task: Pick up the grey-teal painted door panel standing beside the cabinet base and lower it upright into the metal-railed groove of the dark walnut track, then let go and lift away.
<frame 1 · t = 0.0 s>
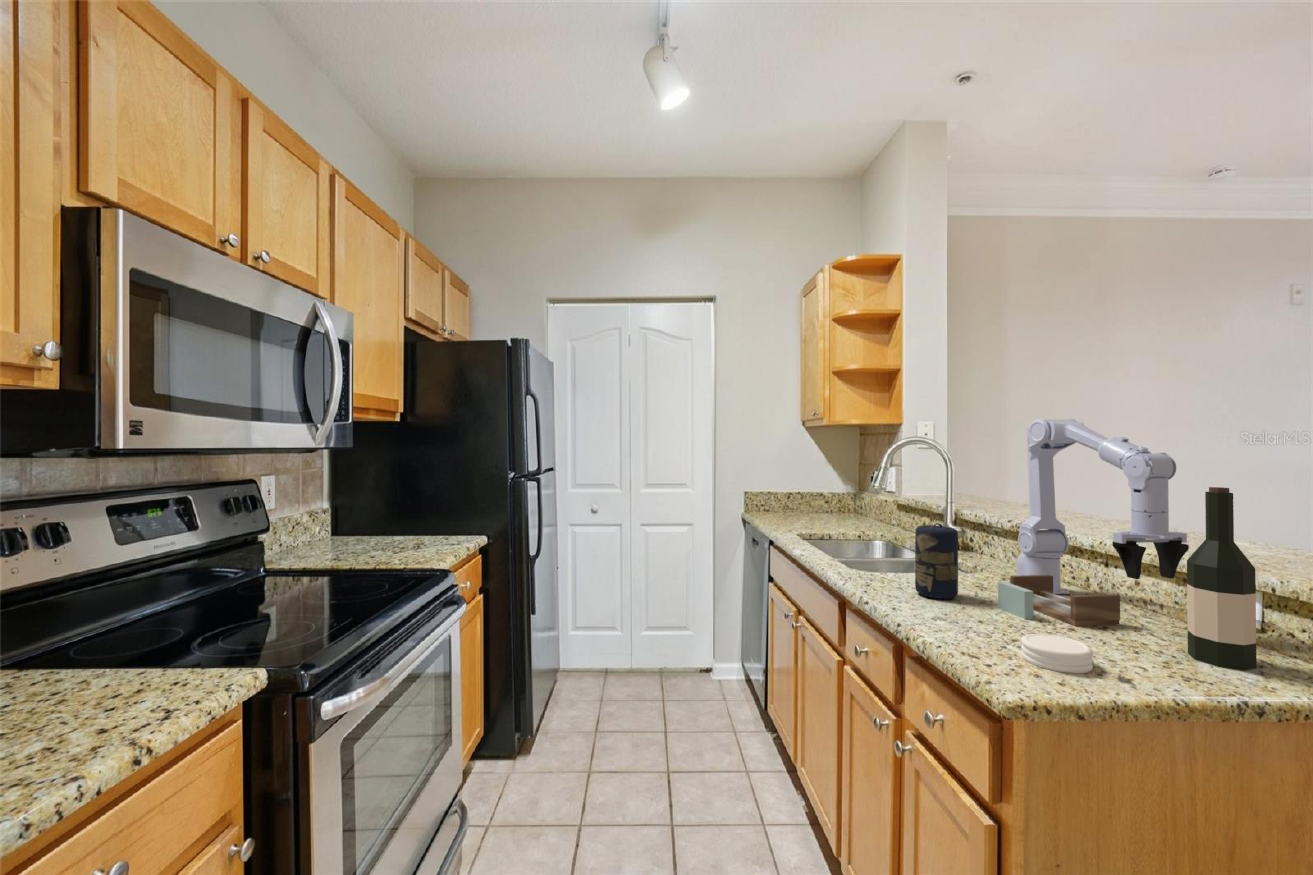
hand: (1150, 577, 113), 10 cm above the worktop, tool pointing down, fingers open, 7 cm apart
door panel: (1015, 613, 122), on the worktop
coaster: (1056, 664, 95), on the worktop
track base: (1061, 612, 123), on the worktop
canister: (936, 596, 136), on the worktop
wine bottle: (1221, 661, 95), on the worktop
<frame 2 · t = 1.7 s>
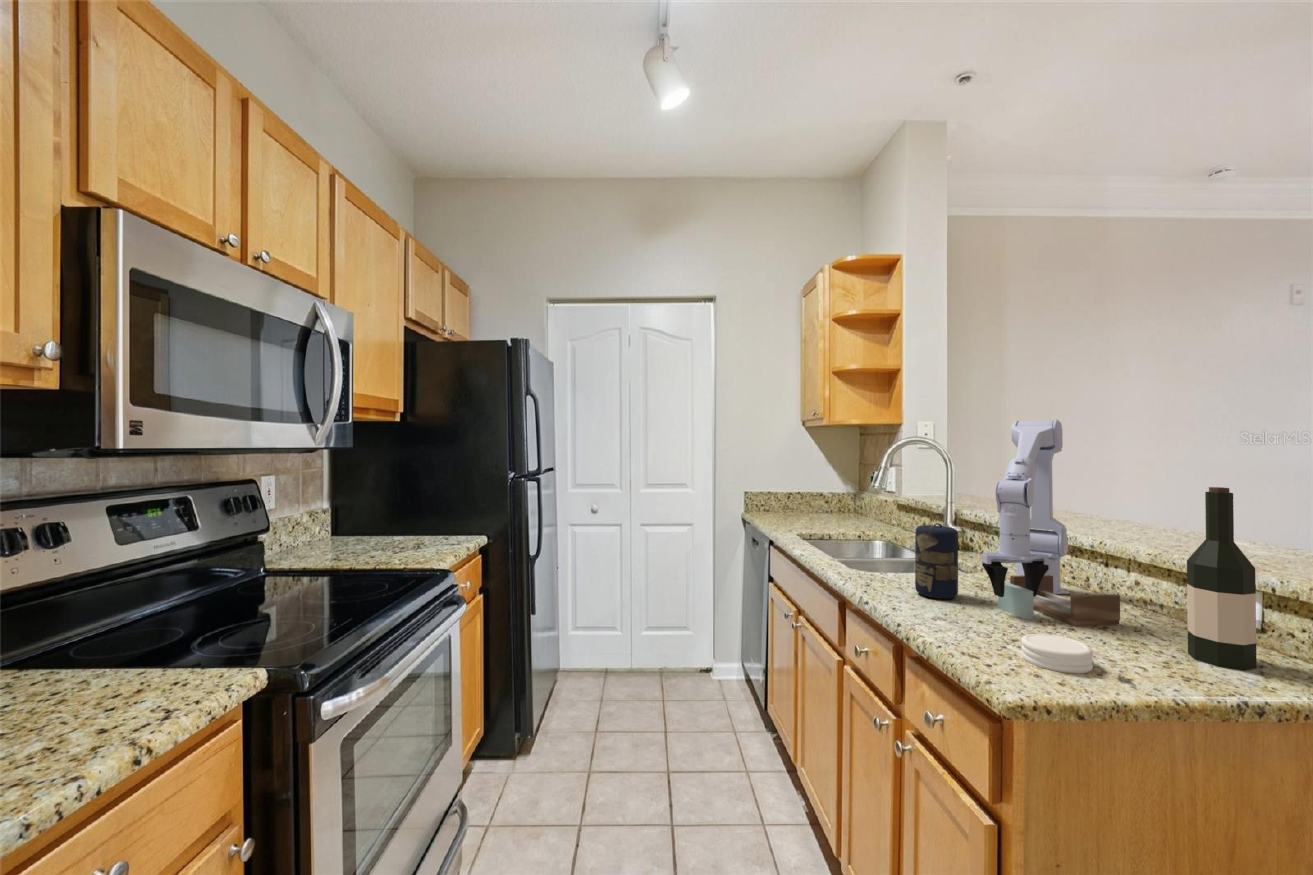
hand: (1015, 595, 122), 4 cm above the worktop, tool pointing down, fingers open, 7 cm apart
nothing on the worktop moved.
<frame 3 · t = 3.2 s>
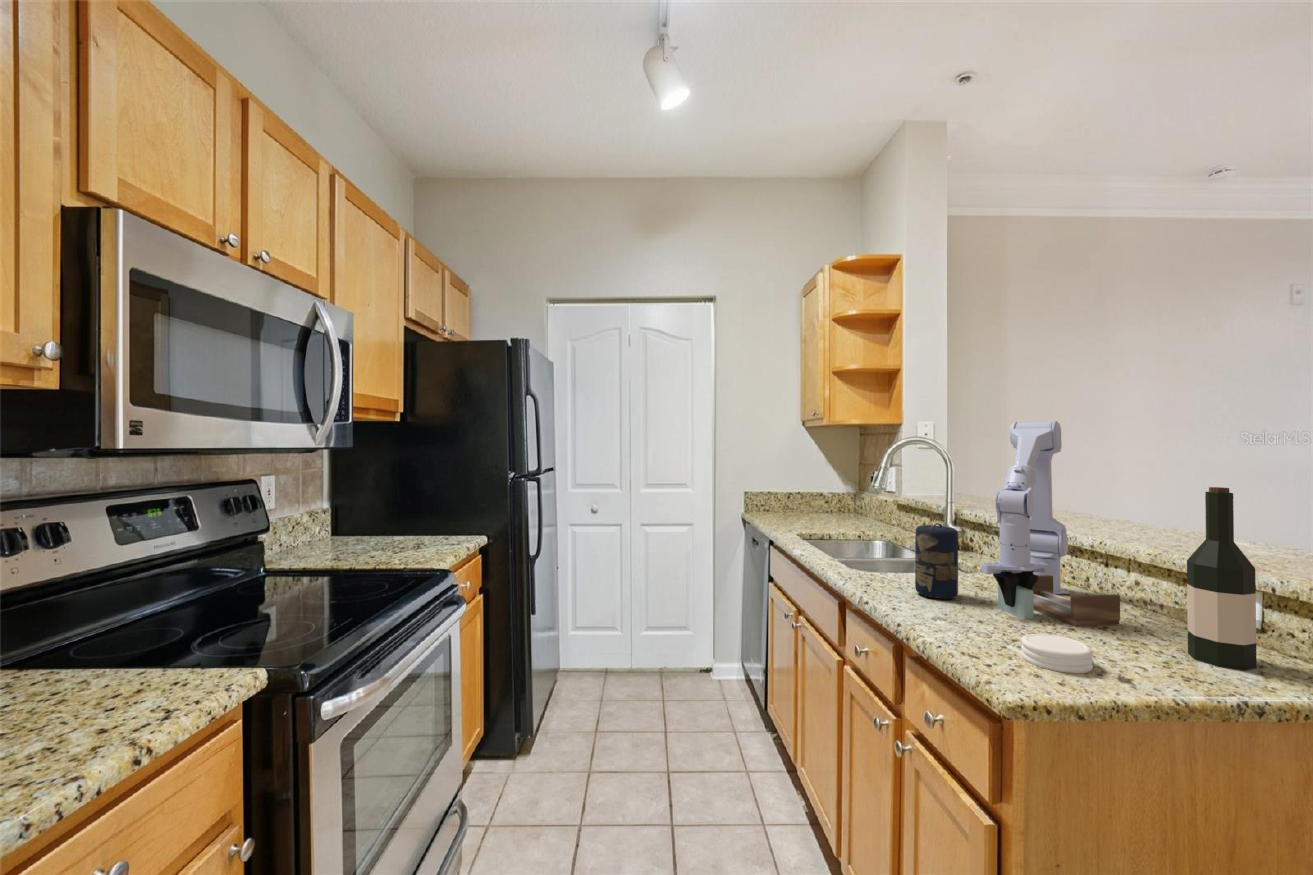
hand: (1015, 605, 122), 2 cm above the worktop, tool pointing down, fingers closed on door panel, 2 cm apart
door panel: (1015, 613, 122), on the worktop, touching gripper
everything else where it was.
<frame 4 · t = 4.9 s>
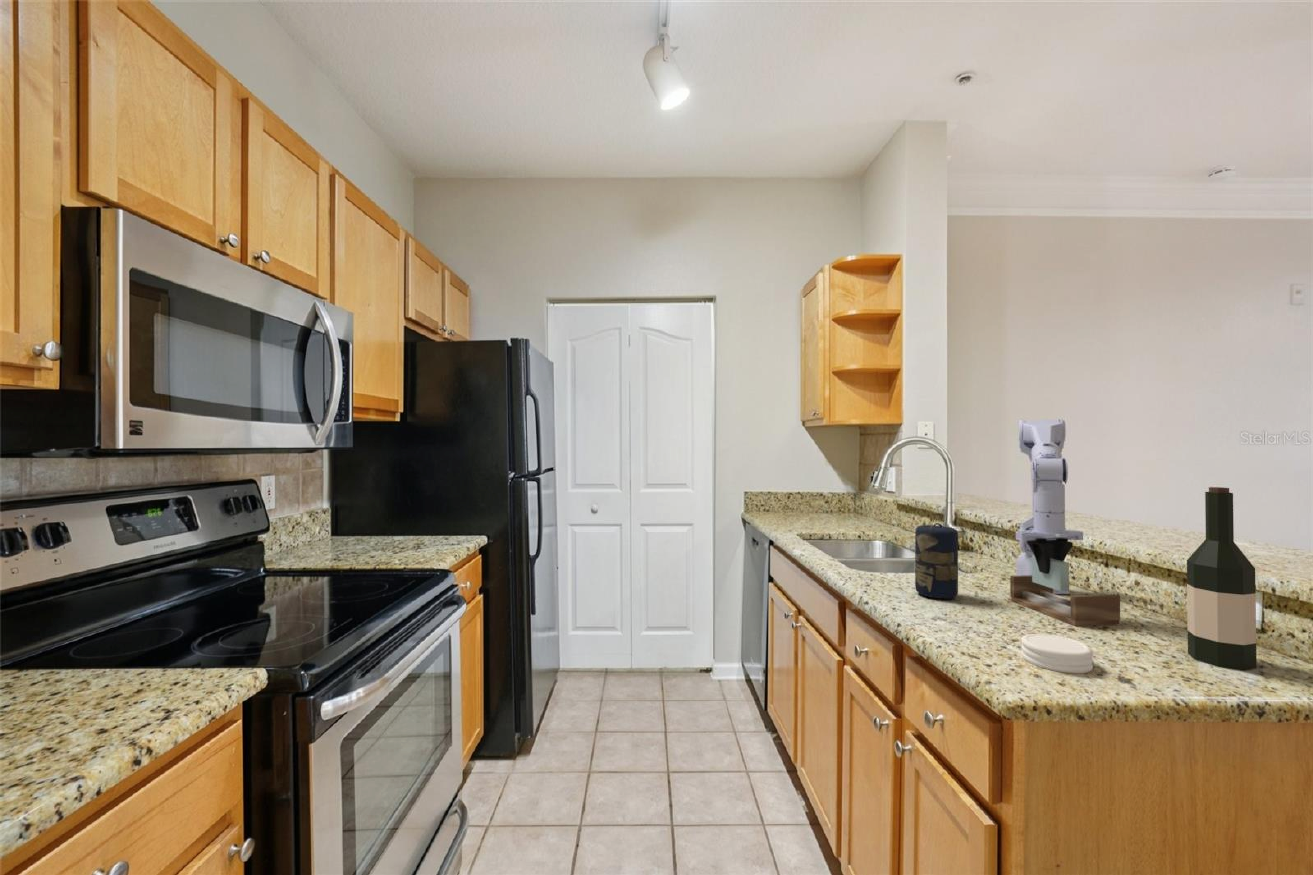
hand: (1049, 572, 123), 9 cm above the worktop, tool pointing down, fingers closed on door panel
door panel: (1050, 586, 122), point 6 cm above the worktop, touching gripper
everything else where it was.
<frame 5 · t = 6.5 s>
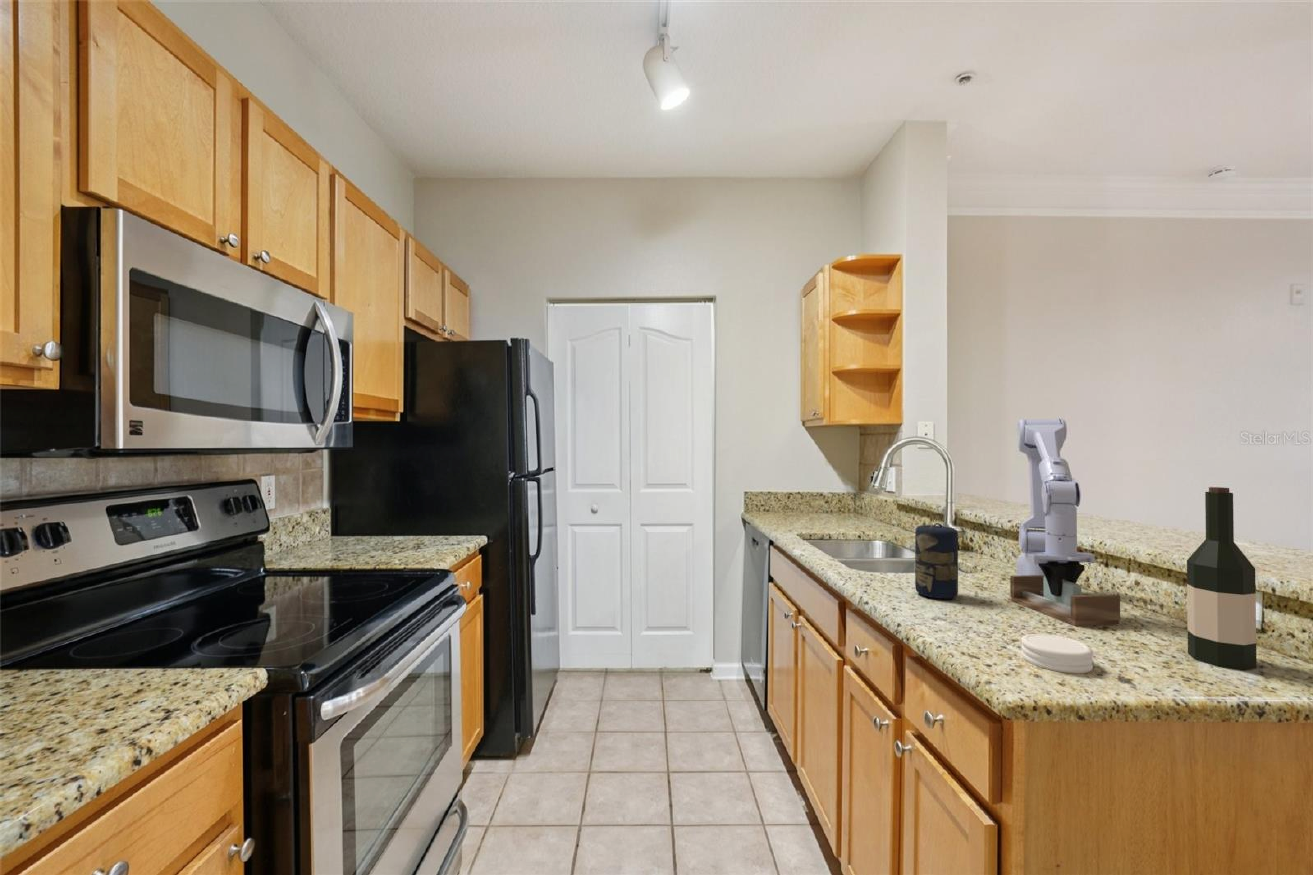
hand: (1061, 595, 123), 4 cm above the worktop, tool pointing down, fingers closed on door panel, 2 cm apart
door panel: (1062, 607, 122), point 1 cm above the worktop, touching gripper, track base
everything else where it was.
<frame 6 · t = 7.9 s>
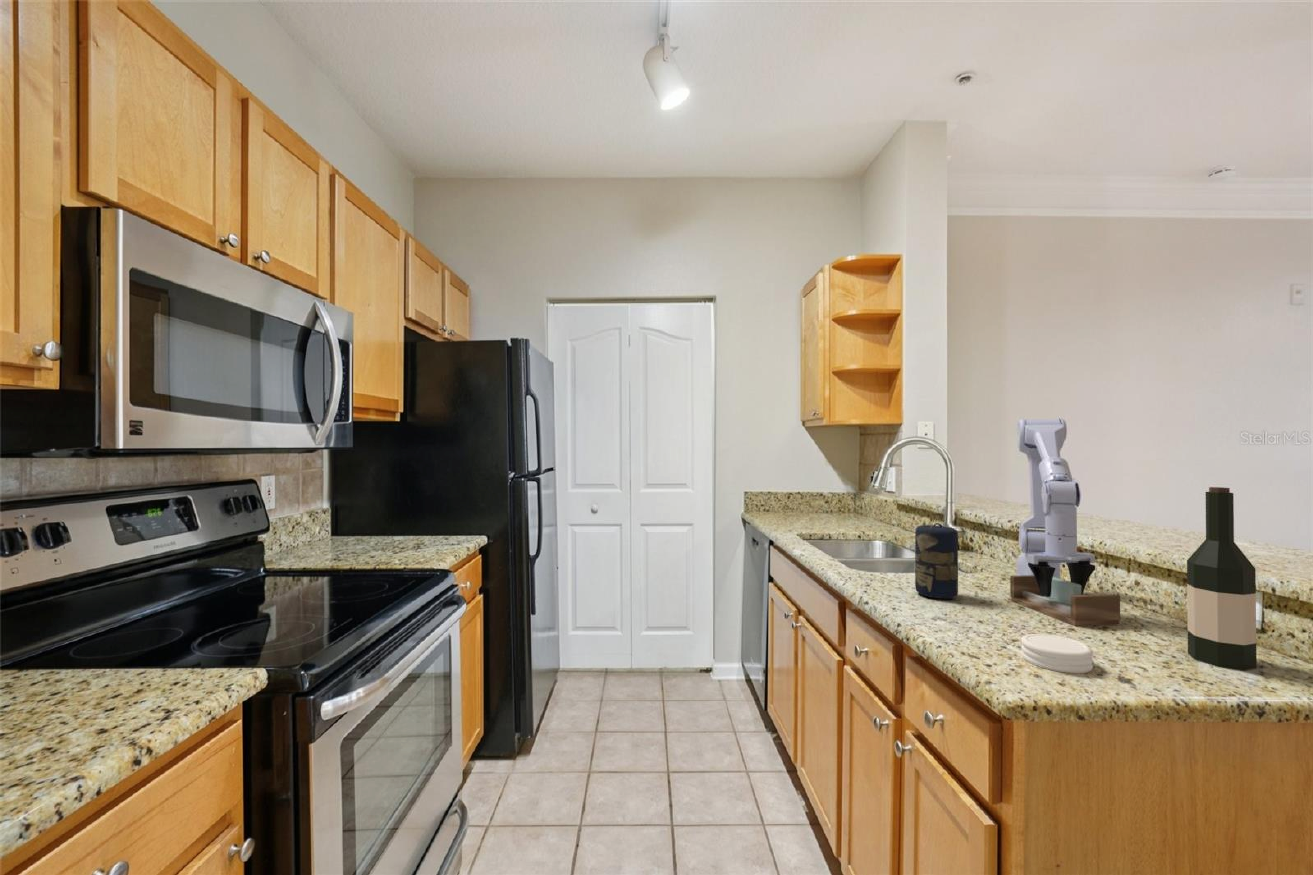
hand: (1061, 595, 123), 4 cm above the worktop, tool pointing down, fingers open, 7 cm apart
door panel: (1062, 607, 122), point 1 cm above the worktop, touching track base
everything else where it was.
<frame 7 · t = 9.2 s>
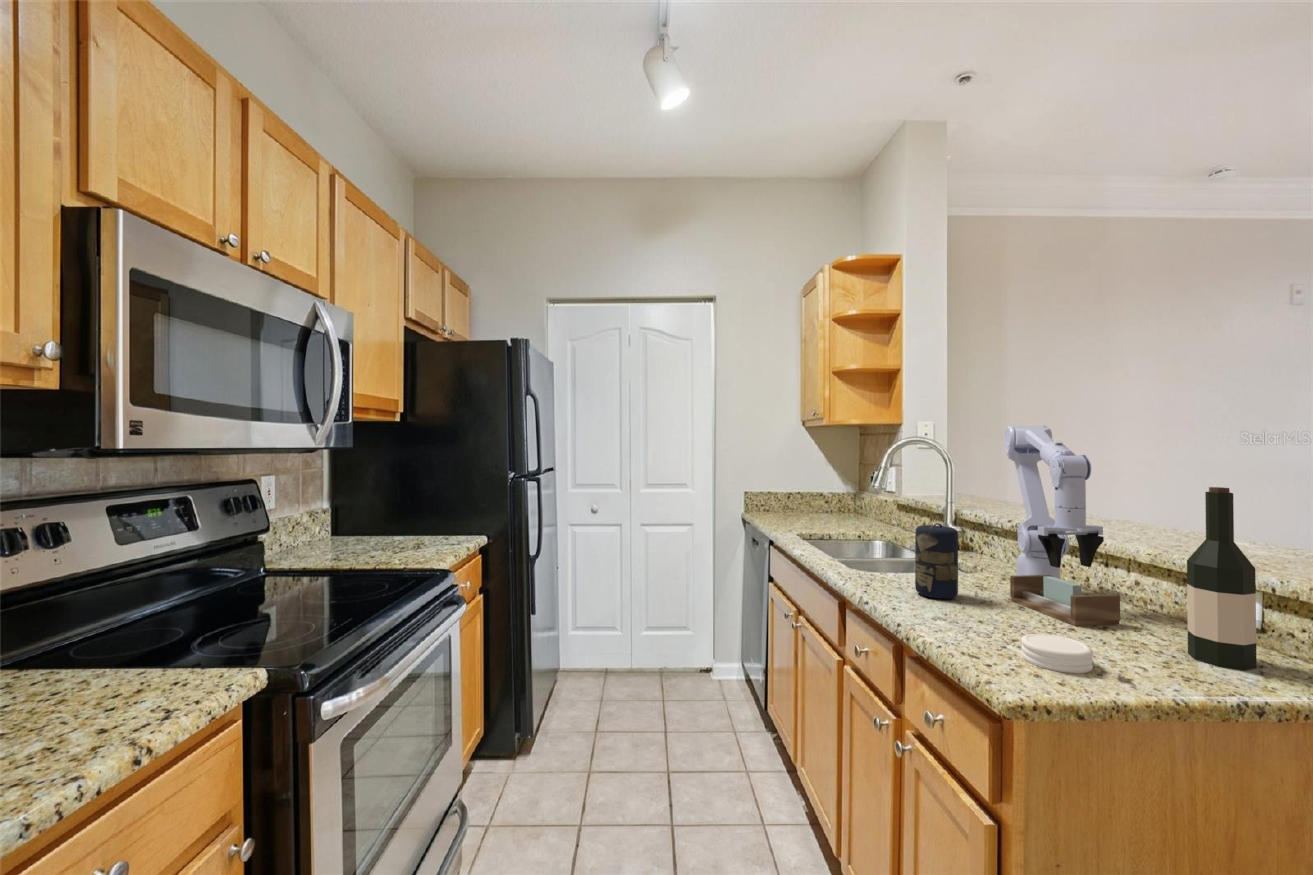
hand: (1070, 566, 126), 9 cm above the worktop, tool pointing down, fingers open, 7 cm apart
nothing on the worktop moved.
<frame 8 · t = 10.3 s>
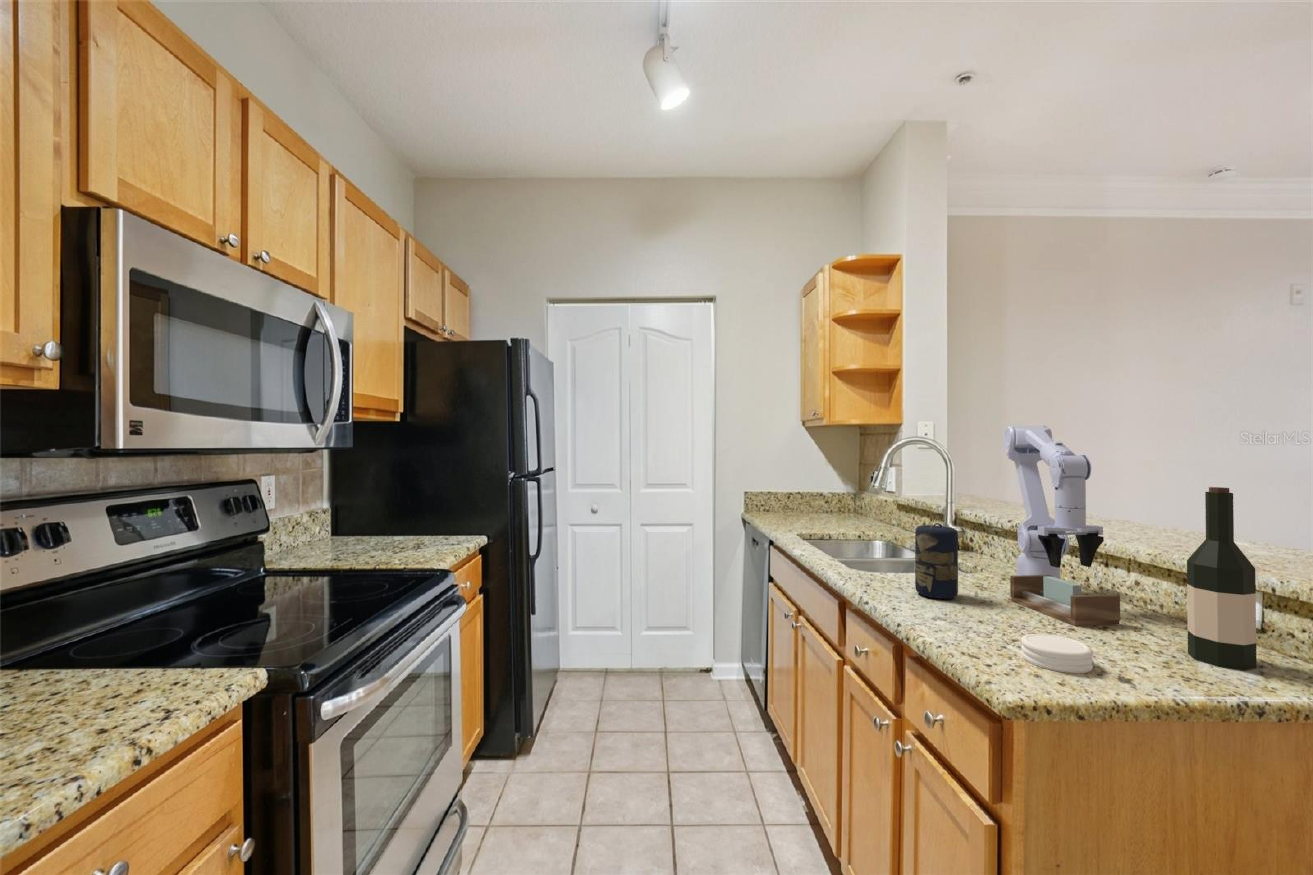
hand: (1070, 566, 126), 9 cm above the worktop, tool pointing down, fingers open, 7 cm apart
nothing on the worktop moved.
at the end: door panel inside the target area on the track base (0.2 cm from its centre), point 1.0 cm above the track base's base; door panel tilted 0°; the gripper is holding nothing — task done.
